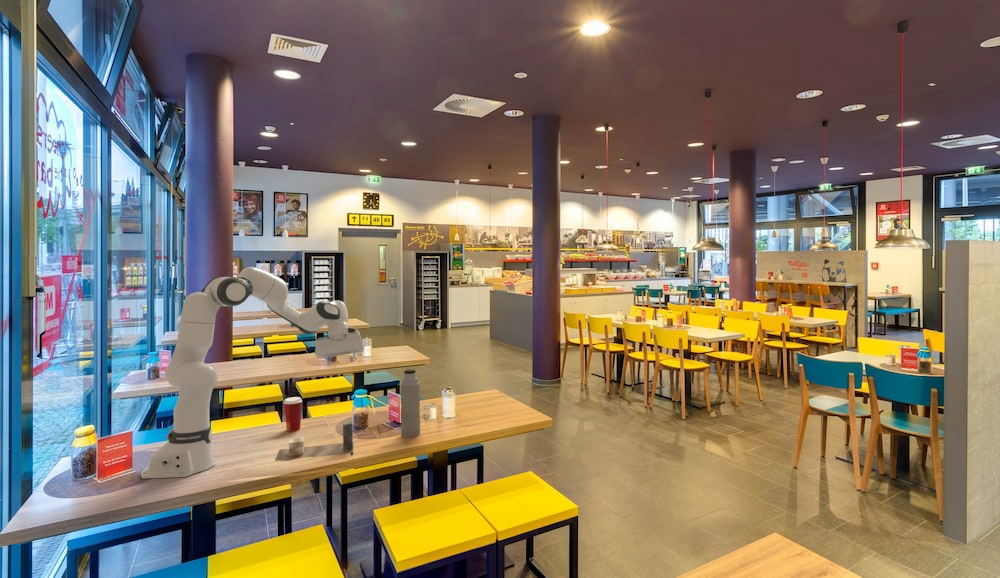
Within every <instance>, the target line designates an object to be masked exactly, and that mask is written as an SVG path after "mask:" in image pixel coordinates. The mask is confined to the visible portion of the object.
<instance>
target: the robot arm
mask: <svg viewBox="0 0 1000 578" xmlns="http://www.w3.org/2000/svg"><path fill="white" fill-rule="evenodd" d="M288 295H289V288H288V284H287V282H286V281H285V280H283V278H281V277H278V276H277V275H275V274H272V273H271V272H268V271H266V270H264V269H260V268H257V267H254V266H247V267H245V268H243V269H242V270H241V271H240V272H239V273H238V275H237V276H236V277H233V276H232V277H231V276H220V277H216V278H215V277H214V278H213V279H211V280H210V281H209V282H207V284H206V285H205V286H204V288H203V289H202V290H201V291H196V292H193V293H190V294H188V296H186V298H185V301H184V302H183V306H182V310H181V313H180V320H179V327H178V334H177V341H176V344H175V348H174V350H173V353H172V356H171V359H170V362H169V364H168V365H167V366H166V368H165V371H164V377H165V379H166V381H167V382H168V384H169V385H170V386H171V387H173V388H176V389H177V390H178V396H177V401H176V404H175V406H174V408H173V428H172V429H171V430H169V433H168V434H167V435H166V440H167V442H166V443H164V444H163V445H162V446H161V447H160V448H158V449H157V450H156V451H155V452H154V453H152V455H151V457H150V458H149V459H150V460H149V463H148V466H146V467H145V468H144V469H143V470H142V471H141V474H140V478H142V479H164V478H165V479H168V478H186V477H189V476H191V475H194V474H196V473H200V472H204V471H206V470H208V469H211V468H213V467H214V466H215V465H216V460H215V457H214V454H213V448H212V439H213V438H212V437H213V435H212V434H213V433H212V432H213V431H212V426H211V425H210V422H211V421H210V406H211V405H210V403H211V398H212V393H213V389H214V387H215V386H216V385H217V382H218V374H217V371H216V370H215V369H214V367H212V366H211V365H210V364H208V363H206V362H205V359H206V356H207V354H208V351H209V350H210V348H211V347H212V345H213V342H214V341H213V340H214V336H215V335H214V333H215V326H216V317H217V316H216V315H217V313H218V311H219V310H220V308H221V307H236V306H240V305H241V304H243V303H244V302H245V301H246V300H247V299H248V297H250V296H251V297H254V298H257V299H258V300H260V301H262V302H264V303H265V304H266V307H267V308H268V309H269V310H270V311H271V312H273V313H275V314H276V315H278V316H279V317H280V318H282V319H284V320H285V321H287V322H289V323H290V324H292V325H293V326H294V327H296V328H297V329H298V330H299V331H300V332H302V333H304V334H306V335H314V334H316V333H318V331H319V330H320V329H322V328H323V327H324V326H327V334H328V336H323V337H319V338H317V339H316V340H315V341H314V347H315V348H314V349H315V350H314V354H315V356H316V358H317V359H318V360H319V359H320V360H321V359H324V360H325V362H326V366H327V367H331V366H332V362H331V360H329V358H332V357H339V356H345V355H351V354H352V355H351V356H350V357H349V362H350V363H354V362H355V358H356V356H357V353H363V352H364V350H365V346H364V345H365V344H364V341H363V338H362V336H361V332H360V330H359V329H358V328H356V327H350V326H349V312H348V308H347V305H346V304H345V302H343V301H341V300H331V301H325V300H321V301H318V302H316V303H315V304H314V305H312V306H311V307H310V308H309V309H307V310H306V311H299V310H298V309H296V308H294V307H292V306H291V305H290V304H288V303H287V302H286V301H287V298H288Z"/></svg>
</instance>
